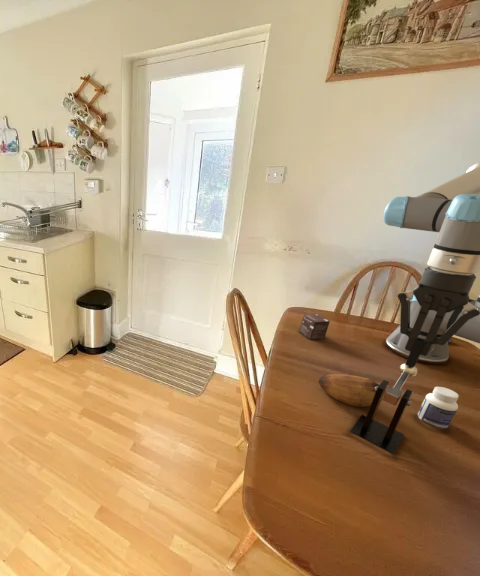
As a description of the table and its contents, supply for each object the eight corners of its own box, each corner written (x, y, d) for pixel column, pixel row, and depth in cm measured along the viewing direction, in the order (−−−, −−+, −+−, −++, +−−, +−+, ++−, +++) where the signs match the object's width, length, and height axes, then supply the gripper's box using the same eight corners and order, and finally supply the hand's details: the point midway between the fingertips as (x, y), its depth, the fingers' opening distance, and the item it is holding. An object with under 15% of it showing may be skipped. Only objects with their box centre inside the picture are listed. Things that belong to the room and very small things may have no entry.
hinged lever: (399, 369, 78) (403, 358, 77) (416, 375, 76) (421, 365, 74) (379, 400, 70) (383, 389, 69) (397, 408, 68) (402, 397, 67)
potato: (319, 405, 88) (319, 378, 92) (383, 416, 80) (380, 386, 84) (317, 394, 83) (317, 367, 87) (386, 404, 75) (383, 374, 79)
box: (298, 331, 121) (302, 314, 118) (312, 330, 121) (317, 313, 119) (310, 339, 115) (315, 321, 112) (325, 338, 116) (330, 320, 113)
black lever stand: (360, 417, 79) (378, 372, 74) (402, 438, 73) (424, 390, 68) (348, 434, 74) (366, 387, 69) (392, 458, 68) (415, 408, 63)
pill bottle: (453, 434, 74) (470, 401, 71) (426, 430, 75) (442, 398, 72) (435, 417, 79) (450, 385, 76) (410, 414, 80) (424, 383, 77)
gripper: (405, 266, 69) (371, 357, 77) (497, 282, 59) (447, 384, 68) (413, 260, 73) (380, 347, 82) (500, 274, 63) (452, 371, 72)
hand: (410, 363), depth 75 cm, fingers closed
